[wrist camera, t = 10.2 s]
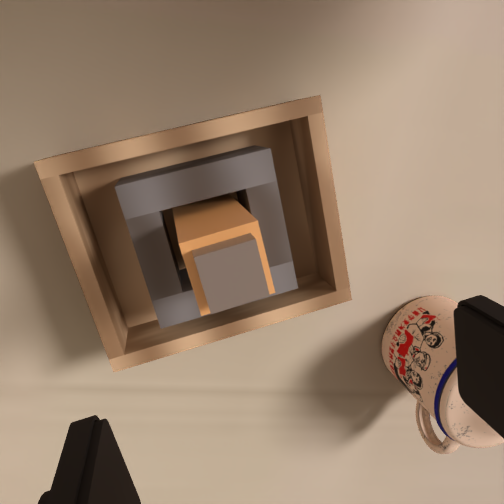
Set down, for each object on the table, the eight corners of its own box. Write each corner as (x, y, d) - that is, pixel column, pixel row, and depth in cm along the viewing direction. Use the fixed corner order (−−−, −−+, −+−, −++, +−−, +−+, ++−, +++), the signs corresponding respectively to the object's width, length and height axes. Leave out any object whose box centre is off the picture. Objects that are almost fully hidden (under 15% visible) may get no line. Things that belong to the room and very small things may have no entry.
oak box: (295, 100, 30) (323, 94, 25) (325, 276, 35) (354, 302, 30) (54, 156, 28) (30, 162, 23) (120, 337, 33) (113, 376, 27)
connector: (226, 191, 30) (263, 225, 20) (240, 243, 31) (281, 301, 21) (172, 206, 30) (179, 250, 19) (188, 258, 31) (203, 326, 20)
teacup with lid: (394, 285, 36) (495, 352, 26) (480, 298, 39) (606, 365, 28) (356, 405, 39) (433, 512, 28) (438, 410, 42) (538, 511, 31)
